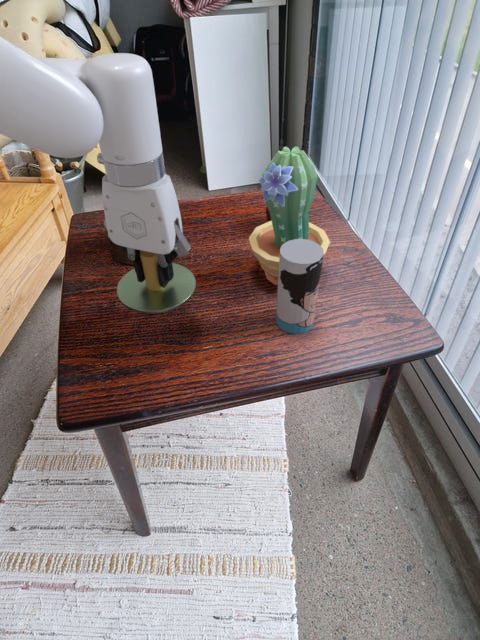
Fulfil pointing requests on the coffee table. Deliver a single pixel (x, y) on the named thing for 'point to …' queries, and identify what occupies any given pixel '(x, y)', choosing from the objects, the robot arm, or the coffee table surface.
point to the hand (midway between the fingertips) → (155, 278)
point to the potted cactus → (286, 208)
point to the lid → (155, 287)
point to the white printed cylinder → (298, 285)
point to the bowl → (118, 251)
